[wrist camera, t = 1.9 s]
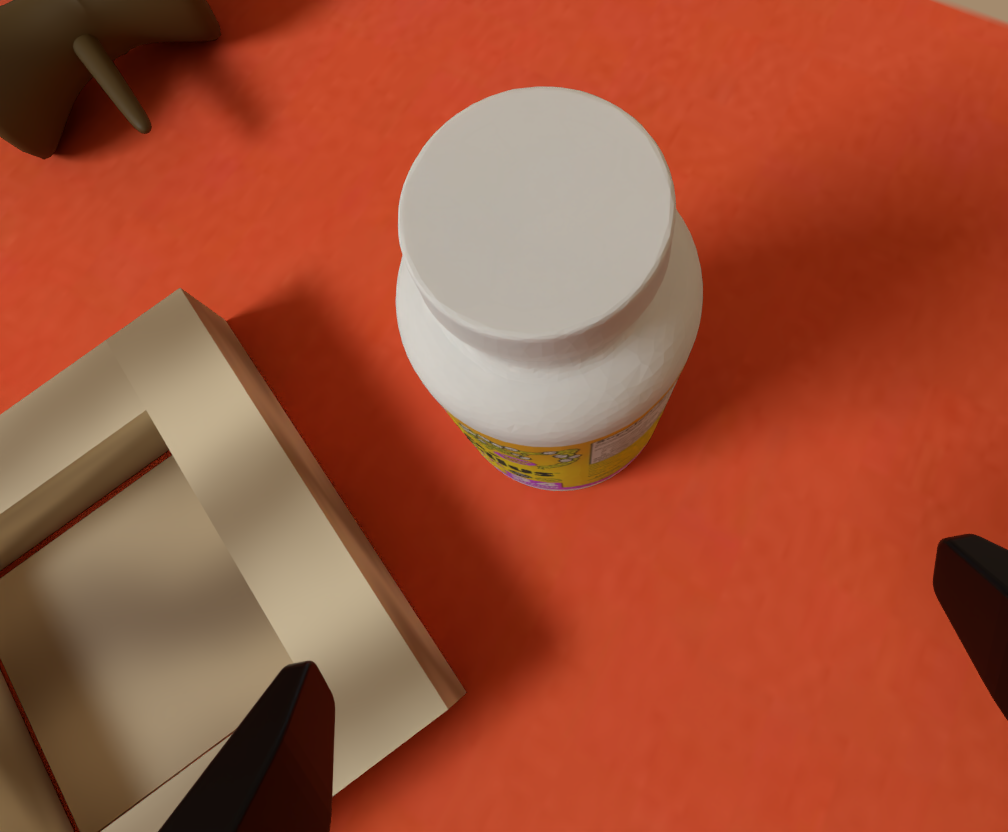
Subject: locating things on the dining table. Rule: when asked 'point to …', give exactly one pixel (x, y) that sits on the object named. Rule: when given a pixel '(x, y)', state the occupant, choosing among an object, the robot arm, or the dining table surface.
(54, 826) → the birch well block
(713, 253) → the dining table surface
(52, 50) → the kendama
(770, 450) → the dining table surface
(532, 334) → the supplement bottle
